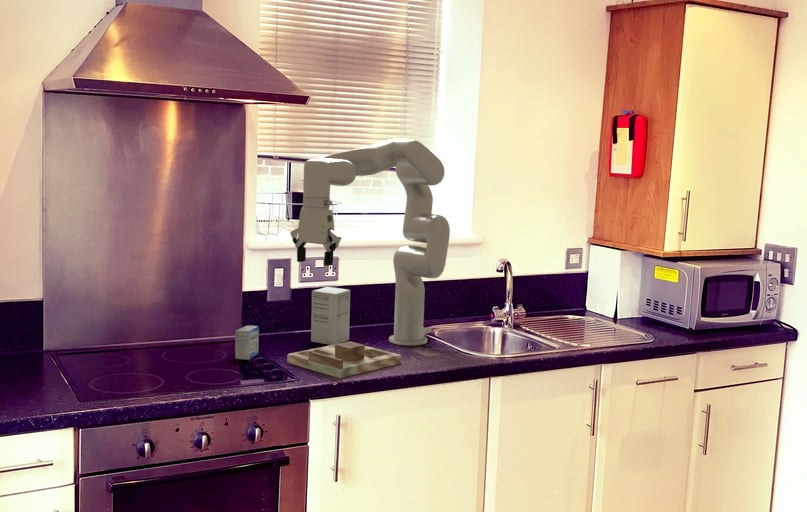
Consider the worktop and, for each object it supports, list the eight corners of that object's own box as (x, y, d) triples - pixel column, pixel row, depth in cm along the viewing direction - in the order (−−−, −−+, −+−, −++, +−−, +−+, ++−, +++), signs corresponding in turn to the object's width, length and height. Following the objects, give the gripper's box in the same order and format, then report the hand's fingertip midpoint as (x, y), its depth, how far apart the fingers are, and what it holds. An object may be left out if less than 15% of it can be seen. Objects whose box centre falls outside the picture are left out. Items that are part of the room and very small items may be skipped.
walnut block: (349, 354, 259) (349, 341, 259) (364, 358, 255) (364, 345, 255) (334, 357, 255) (335, 344, 254) (349, 362, 251) (349, 348, 250)
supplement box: (325, 336, 293) (327, 286, 290) (349, 340, 288) (351, 289, 286) (309, 341, 284) (311, 290, 282) (334, 345, 280) (335, 293, 278)
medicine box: (249, 360, 258) (249, 331, 257) (234, 359, 259) (235, 330, 258) (258, 354, 266) (259, 326, 265) (244, 352, 267) (245, 324, 266)
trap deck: (348, 349, 276) (348, 333, 275) (400, 363, 261) (401, 346, 261) (287, 362, 257) (287, 345, 257) (340, 378, 243) (340, 360, 242)
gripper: (348, 205, 249) (347, 265, 251) (300, 200, 258) (299, 259, 260) (333, 206, 242) (331, 268, 245) (284, 201, 251) (282, 261, 254)
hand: (314, 263), depth 252 cm, fingers open, 9 cm apart
